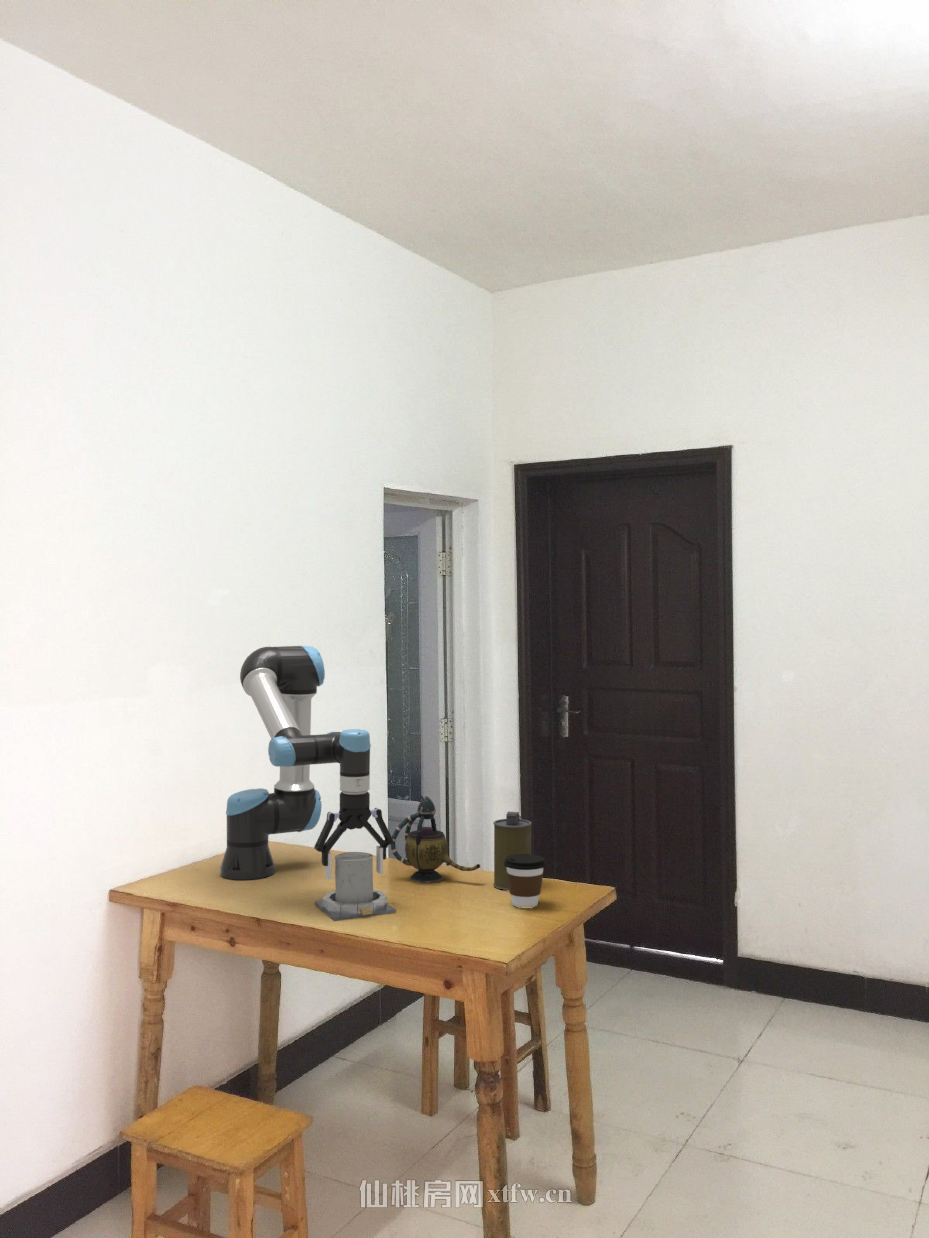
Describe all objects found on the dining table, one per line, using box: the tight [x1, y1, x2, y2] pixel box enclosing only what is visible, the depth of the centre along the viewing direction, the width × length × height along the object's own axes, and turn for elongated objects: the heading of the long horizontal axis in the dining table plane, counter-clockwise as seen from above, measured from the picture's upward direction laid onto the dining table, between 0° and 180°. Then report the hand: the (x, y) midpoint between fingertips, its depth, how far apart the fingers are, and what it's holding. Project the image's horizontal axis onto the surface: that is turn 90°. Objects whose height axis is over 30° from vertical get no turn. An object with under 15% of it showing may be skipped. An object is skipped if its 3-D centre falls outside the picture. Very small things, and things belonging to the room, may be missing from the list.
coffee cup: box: [504, 853, 547, 908], centre depth 267 cm, size 11×11×12 cm
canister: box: [493, 811, 533, 891], centre depth 286 cm, size 11×10×20 cm
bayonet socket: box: [314, 888, 397, 922], centre depth 265 cm, size 18×16×3 cm
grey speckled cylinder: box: [334, 851, 374, 904], centre depth 265 cm, size 10×10×12 cm
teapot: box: [390, 795, 481, 884], centre depth 292 cm, size 12×25×23 cm, turn 66°
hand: (354, 875), depth 265 cm, fingers open, 13 cm apart
